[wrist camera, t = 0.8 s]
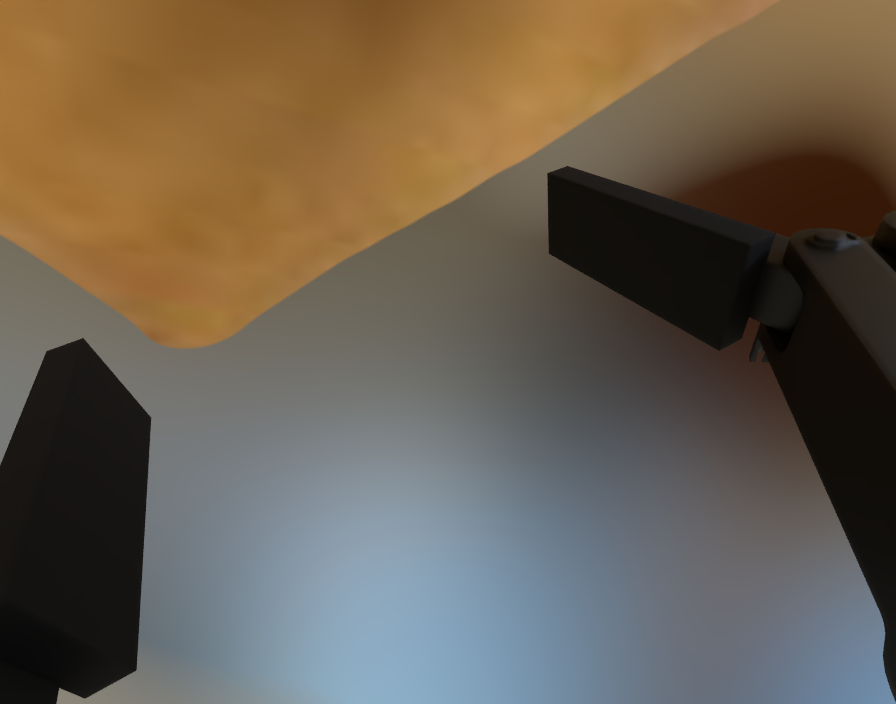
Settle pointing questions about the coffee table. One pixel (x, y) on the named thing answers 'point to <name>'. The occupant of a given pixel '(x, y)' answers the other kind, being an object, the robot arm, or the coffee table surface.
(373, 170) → the coffee table surface
